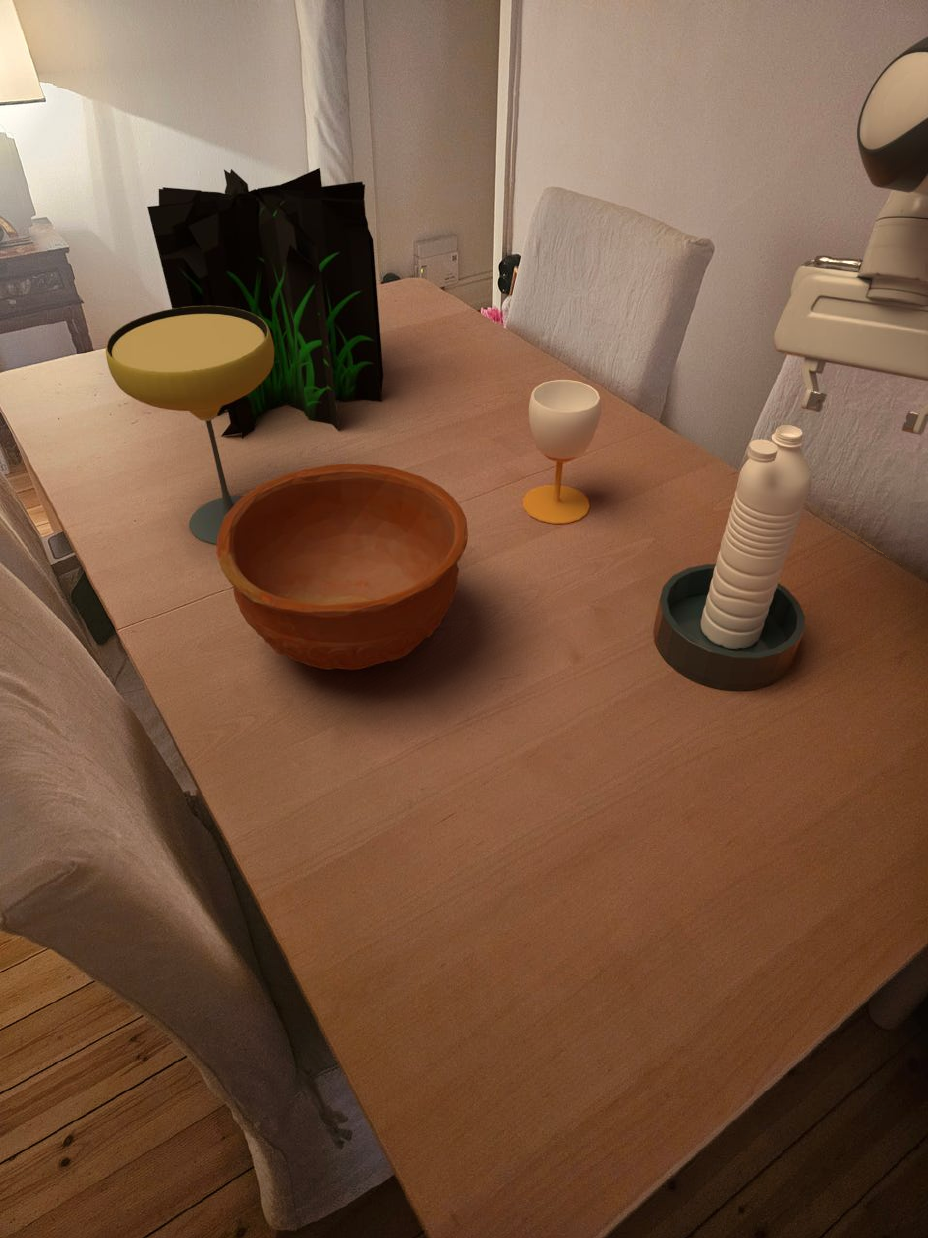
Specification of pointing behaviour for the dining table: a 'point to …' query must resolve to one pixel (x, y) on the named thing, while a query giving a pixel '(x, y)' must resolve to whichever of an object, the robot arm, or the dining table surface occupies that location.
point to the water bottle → (757, 539)
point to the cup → (561, 444)
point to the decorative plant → (282, 285)
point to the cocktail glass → (193, 374)
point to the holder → (716, 663)
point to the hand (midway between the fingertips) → (859, 421)
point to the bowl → (344, 562)
